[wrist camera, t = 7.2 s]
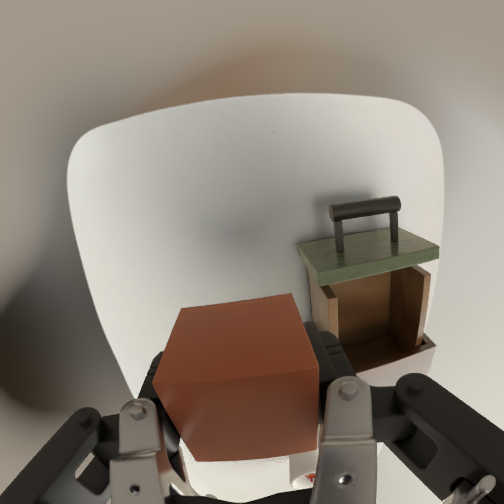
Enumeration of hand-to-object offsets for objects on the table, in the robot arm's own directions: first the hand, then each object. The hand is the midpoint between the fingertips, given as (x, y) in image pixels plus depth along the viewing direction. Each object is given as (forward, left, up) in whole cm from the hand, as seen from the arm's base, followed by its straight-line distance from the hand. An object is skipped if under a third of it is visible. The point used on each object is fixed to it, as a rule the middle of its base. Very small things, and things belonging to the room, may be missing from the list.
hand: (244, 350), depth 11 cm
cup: (+24, +31, -18) cm, 43 cm away
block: (0, 0, 0) cm, 0 cm away
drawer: (-4, +12, -17) cm, 21 cm away
